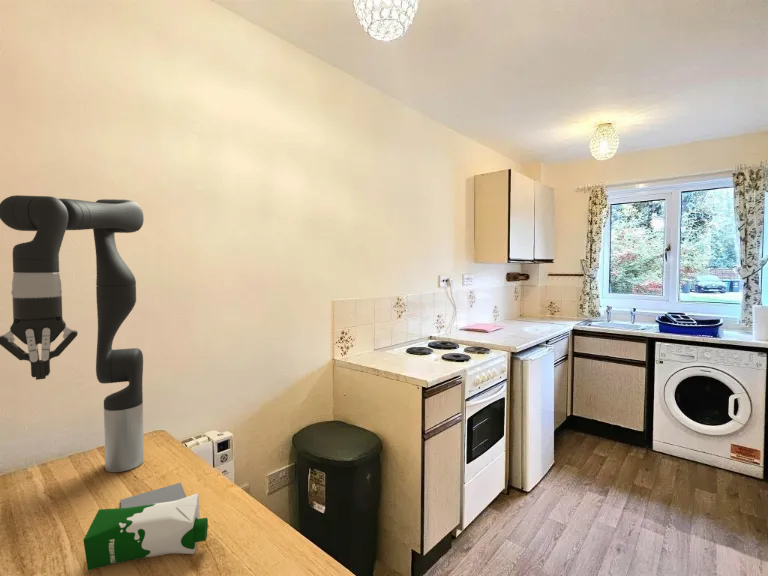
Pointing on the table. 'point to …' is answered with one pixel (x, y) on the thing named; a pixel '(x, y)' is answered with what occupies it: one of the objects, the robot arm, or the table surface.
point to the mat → (155, 496)
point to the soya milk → (144, 532)
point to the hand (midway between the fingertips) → (40, 378)
